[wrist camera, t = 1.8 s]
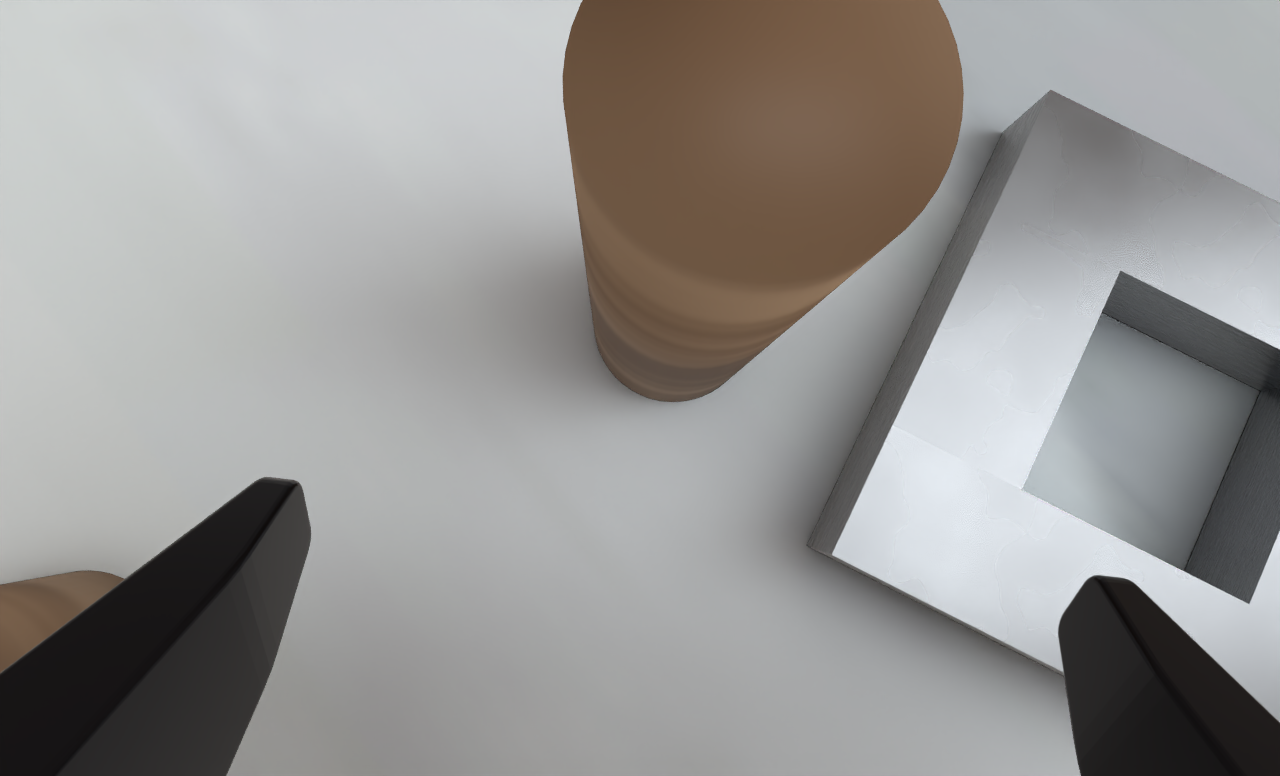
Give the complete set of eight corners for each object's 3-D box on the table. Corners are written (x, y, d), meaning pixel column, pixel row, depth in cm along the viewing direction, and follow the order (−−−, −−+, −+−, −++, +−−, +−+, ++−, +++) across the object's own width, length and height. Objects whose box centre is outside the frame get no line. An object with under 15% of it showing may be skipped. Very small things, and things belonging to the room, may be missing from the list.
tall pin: (698, 431, 22) (835, 359, 8) (563, 347, 22) (484, 143, 8) (780, 299, 22) (1035, 26, 9) (647, 217, 22) (697, -174, 9)
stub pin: (102, 774, 21) (-61, 869, 16) (-38, 683, 21) (-243, 749, 16) (200, 627, 21) (71, 673, 16) (62, 539, 21) (-107, 558, 16)
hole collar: (1244, 767, 21) (1327, 805, 19) (806, 545, 22) (831, 554, 19) (1418, 337, 23) (1518, 320, 20) (1003, 132, 23) (1050, 89, 20)
